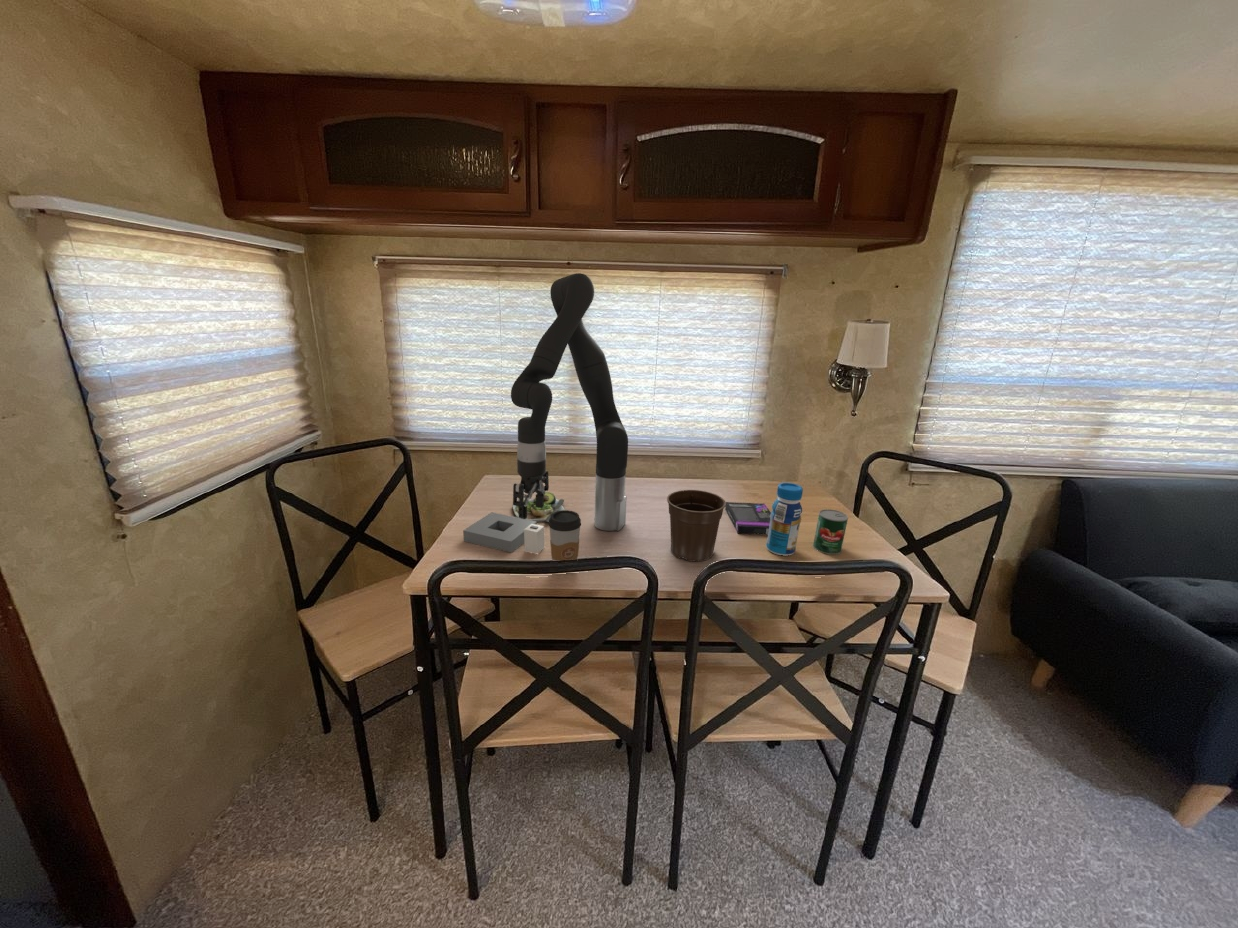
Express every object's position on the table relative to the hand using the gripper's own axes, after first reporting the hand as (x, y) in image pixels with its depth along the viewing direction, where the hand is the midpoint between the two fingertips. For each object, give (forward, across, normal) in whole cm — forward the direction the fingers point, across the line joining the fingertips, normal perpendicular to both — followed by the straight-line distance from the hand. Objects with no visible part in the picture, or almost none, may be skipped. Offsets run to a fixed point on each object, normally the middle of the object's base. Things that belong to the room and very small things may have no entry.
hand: (531, 512), depth 133 cm
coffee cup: (+11, -5, -13) cm, 18 cm away
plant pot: (+11, +19, -42) cm, 47 cm away
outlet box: (+12, +2, +12) cm, 17 cm away
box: (+11, +48, -55) cm, 74 cm away
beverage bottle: (+10, +32, -65) cm, 73 cm away
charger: (+11, 0, -1) cm, 11 cm away
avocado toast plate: (+12, +24, +12) cm, 29 cm away
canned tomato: (+10, +39, -78) cm, 88 cm away
